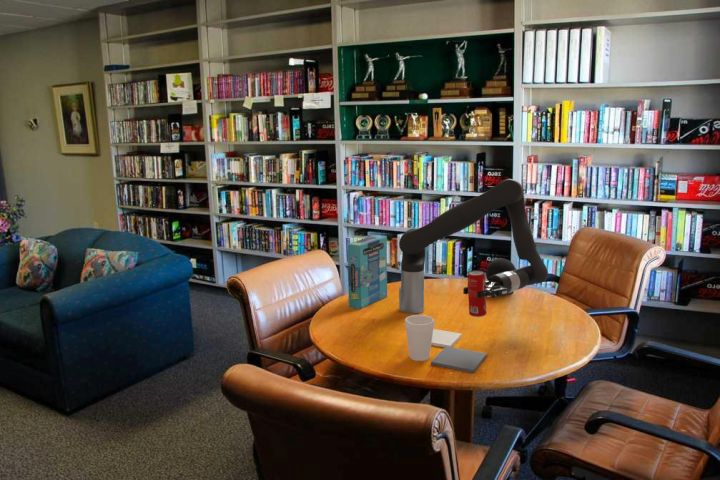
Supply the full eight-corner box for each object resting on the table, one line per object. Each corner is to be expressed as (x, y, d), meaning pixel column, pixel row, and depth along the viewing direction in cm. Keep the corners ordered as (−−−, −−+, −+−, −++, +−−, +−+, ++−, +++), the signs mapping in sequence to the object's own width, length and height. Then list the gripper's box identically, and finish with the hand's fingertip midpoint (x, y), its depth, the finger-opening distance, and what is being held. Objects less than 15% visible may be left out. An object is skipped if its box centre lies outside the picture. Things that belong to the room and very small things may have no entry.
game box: (375, 294, 260) (375, 234, 254) (387, 296, 256) (387, 236, 250) (348, 307, 244) (346, 243, 238) (360, 309, 240) (359, 245, 234)
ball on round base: (482, 294, 257) (483, 261, 254) (488, 285, 269) (489, 254, 266) (513, 297, 252) (514, 263, 249) (517, 288, 264) (519, 256, 261)
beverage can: (486, 318, 195) (487, 275, 191) (466, 317, 196) (467, 274, 192) (486, 311, 200) (487, 269, 197) (466, 311, 202) (467, 269, 198)
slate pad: (431, 364, 188) (431, 361, 187) (446, 348, 200) (446, 346, 199) (473, 373, 181) (473, 370, 181) (486, 356, 193) (486, 353, 193)
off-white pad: (417, 342, 206) (417, 339, 205) (430, 331, 216) (430, 328, 216) (450, 348, 200) (450, 345, 200) (461, 336, 210) (461, 333, 210)
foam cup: (403, 352, 198) (403, 315, 195) (430, 350, 198) (430, 314, 196) (407, 363, 188) (407, 325, 186) (436, 362, 189) (436, 324, 186)
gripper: (488, 268, 210) (455, 277, 200) (521, 277, 199) (487, 287, 189) (487, 288, 212) (454, 298, 202) (520, 298, 200) (487, 309, 190)
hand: (471, 293), depth 195 cm, fingers closed on beverage can, 5 cm apart
